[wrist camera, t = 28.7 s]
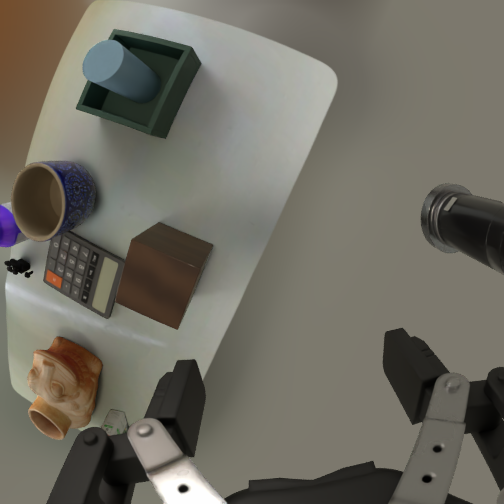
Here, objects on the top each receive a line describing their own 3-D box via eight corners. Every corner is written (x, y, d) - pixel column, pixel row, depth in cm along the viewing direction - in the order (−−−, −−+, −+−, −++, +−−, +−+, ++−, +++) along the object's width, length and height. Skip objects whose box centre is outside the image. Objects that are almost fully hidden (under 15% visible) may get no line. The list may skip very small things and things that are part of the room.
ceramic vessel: (112, 344, 51) (77, 393, 37) (97, 421, 58) (73, 465, 44) (52, 311, 50) (8, 350, 36) (48, 394, 57) (20, 433, 42)
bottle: (21, 218, 45) (-45, 241, 28) (29, 191, 44) (-40, 207, 27) (45, 238, 46) (-20, 269, 29) (55, 211, 45) (-14, 234, 28)
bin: (131, 44, 37) (113, 28, 31) (201, 63, 39) (192, 47, 32) (98, 114, 41) (75, 108, 34) (165, 138, 42) (150, 134, 35)
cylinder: (154, 65, 38) (116, 31, 24) (166, 92, 39) (129, 65, 25) (124, 82, 38) (77, 56, 25) (135, 109, 40) (89, 91, 26)
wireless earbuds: (14, 260, 47) (-2, 268, 42) (15, 248, 47) (-1, 256, 42) (38, 274, 48) (23, 283, 43) (39, 262, 47) (23, 271, 42)
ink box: (124, 411, 56) (102, 459, 42) (131, 434, 58) (112, 480, 44) (109, 408, 56) (85, 454, 42) (117, 430, 58) (97, 475, 44)
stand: (158, 221, 45) (131, 239, 35) (213, 244, 46) (200, 268, 35) (142, 273, 47) (114, 302, 37) (193, 295, 48) (177, 330, 38)
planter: (109, 220, 45) (73, 236, 34) (58, 230, 46) (18, 247, 35) (98, 152, 42) (59, 152, 31) (47, 168, 43) (5, 173, 32)
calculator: (53, 224, 44) (124, 262, 46) (56, 223, 45) (126, 261, 47) (42, 282, 47) (107, 320, 49) (45, 280, 48) (109, 317, 50)
